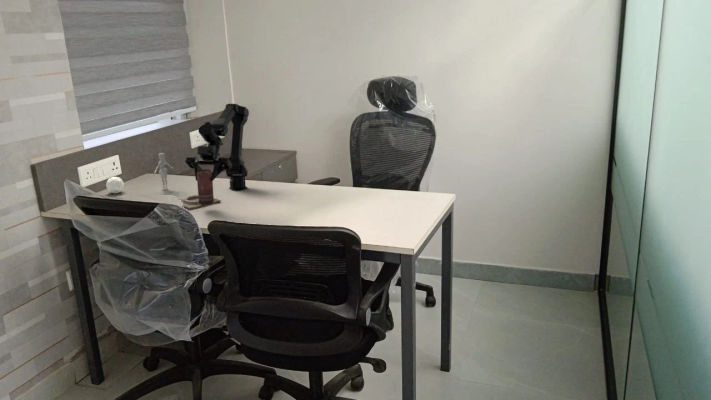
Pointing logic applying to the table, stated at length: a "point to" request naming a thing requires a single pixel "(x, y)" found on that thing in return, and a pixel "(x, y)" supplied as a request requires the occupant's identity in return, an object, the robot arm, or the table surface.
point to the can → (205, 187)
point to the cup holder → (194, 202)
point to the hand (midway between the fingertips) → (203, 180)
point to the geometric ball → (115, 185)
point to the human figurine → (162, 170)
